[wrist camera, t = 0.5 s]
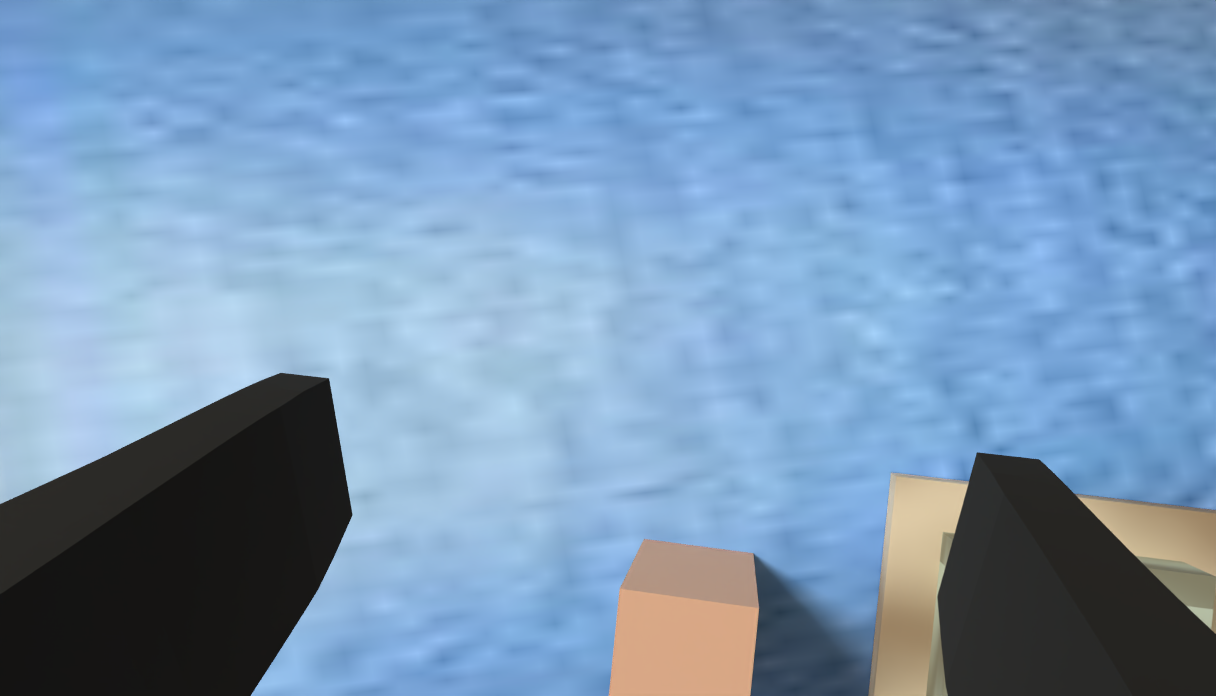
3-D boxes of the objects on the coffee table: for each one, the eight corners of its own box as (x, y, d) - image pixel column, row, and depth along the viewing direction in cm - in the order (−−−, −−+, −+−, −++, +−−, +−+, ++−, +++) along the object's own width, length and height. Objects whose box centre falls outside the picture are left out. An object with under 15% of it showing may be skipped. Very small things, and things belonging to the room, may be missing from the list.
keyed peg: (739, 690, 32) (741, 783, 25) (630, 673, 32) (602, 759, 25) (753, 553, 32) (758, 608, 25) (643, 539, 32) (619, 588, 25)
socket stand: (1190, 864, 29) (1242, 922, 26) (856, 807, 31) (870, 856, 28) (1227, 511, 29) (1283, 528, 26) (890, 472, 31) (908, 484, 28)
